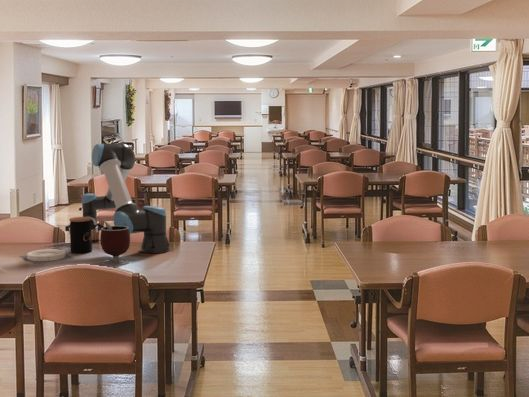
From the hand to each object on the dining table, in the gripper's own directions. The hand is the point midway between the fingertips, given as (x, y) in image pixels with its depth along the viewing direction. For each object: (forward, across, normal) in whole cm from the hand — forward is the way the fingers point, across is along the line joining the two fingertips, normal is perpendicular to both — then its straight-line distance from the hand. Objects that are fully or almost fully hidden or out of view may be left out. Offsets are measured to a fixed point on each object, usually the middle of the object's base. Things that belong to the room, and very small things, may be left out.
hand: (83, 230), depth 385 cm
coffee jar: (+10, 0, -10) cm, 14 cm away
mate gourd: (+37, -19, -10) cm, 43 cm away
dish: (+21, +15, -9) cm, 28 cm away
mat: (+21, +15, -10) cm, 28 cm away
